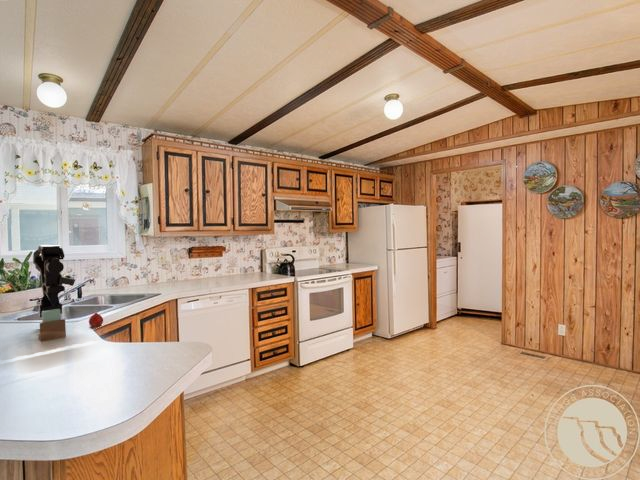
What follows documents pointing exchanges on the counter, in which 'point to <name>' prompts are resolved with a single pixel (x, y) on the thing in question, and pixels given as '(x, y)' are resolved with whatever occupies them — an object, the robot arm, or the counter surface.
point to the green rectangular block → (51, 315)
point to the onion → (95, 320)
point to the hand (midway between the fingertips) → (53, 305)
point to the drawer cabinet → (52, 330)
